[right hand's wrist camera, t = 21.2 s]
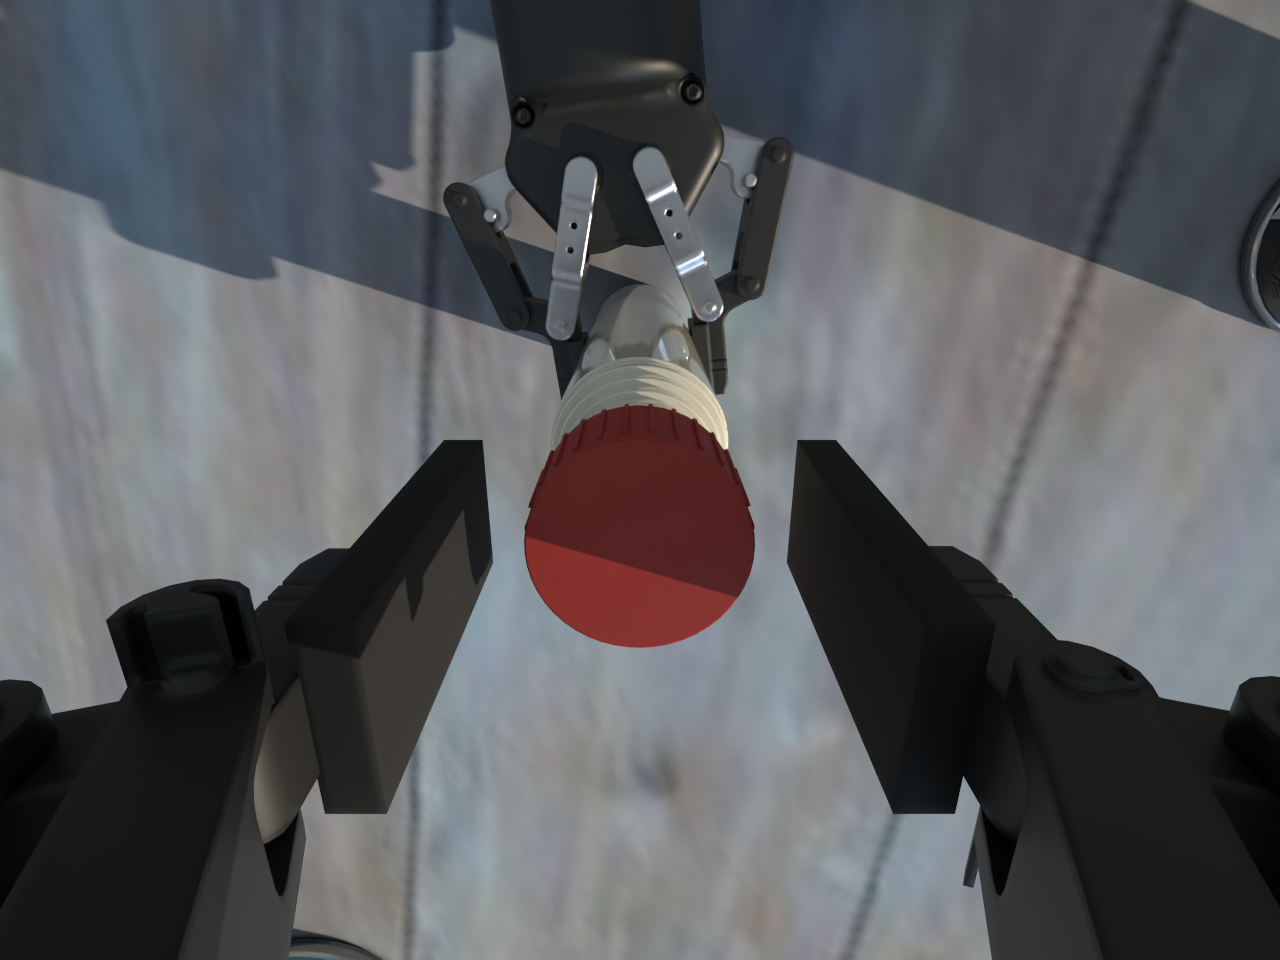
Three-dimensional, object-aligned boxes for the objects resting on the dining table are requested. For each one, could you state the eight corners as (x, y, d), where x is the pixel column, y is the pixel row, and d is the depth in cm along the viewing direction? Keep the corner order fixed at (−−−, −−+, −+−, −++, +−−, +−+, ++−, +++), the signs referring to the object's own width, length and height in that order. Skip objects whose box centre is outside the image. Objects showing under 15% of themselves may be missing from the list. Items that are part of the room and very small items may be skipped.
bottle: (596, 372, 36) (522, 638, 13) (595, 283, 34) (509, 414, 12) (682, 373, 36) (754, 640, 13) (685, 284, 34) (772, 417, 12)
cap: (655, 358, 13) (658, 387, 11) (779, 512, 14) (804, 566, 12) (497, 485, 14) (471, 535, 12) (625, 619, 15) (623, 688, 13)
